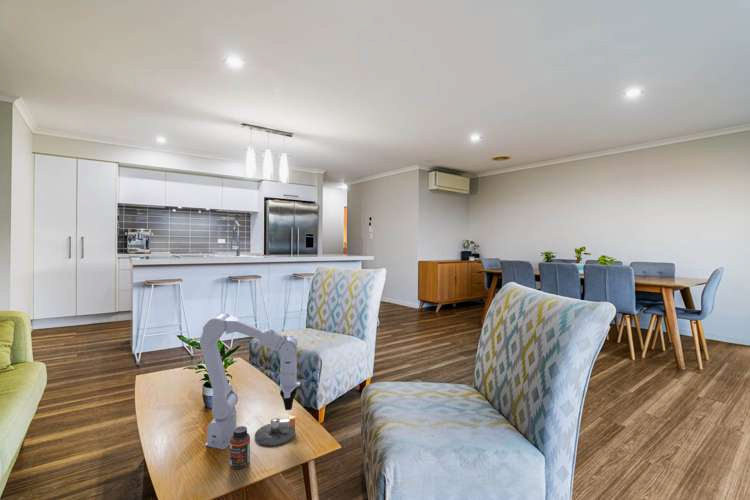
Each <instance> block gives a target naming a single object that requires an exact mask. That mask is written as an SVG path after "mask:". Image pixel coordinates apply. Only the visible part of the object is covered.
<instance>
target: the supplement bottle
mask: <svg viewBox="0 0 750 500" xmlns="http://www.w3.org/2000/svg"><path fill="white" fill-rule="evenodd" d="M250 461H251V435H250V433H248V427H247V426H244V425H239V426H236V428H235V429H234V431H233V436H232V437H231V439H230V445H229V466H230V468H231V469H233V470H241V469H245V468H246V467H247V466H249V464H250V463H251V462H250Z"/></svg>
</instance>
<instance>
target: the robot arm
mask: <svg viewBox="0 0 750 500" xmlns="http://www.w3.org/2000/svg"><path fill="white" fill-rule="evenodd" d="M275 330H276V329H274V328H270V329H269V328H267V329H264V330H263V329H260V328H258V327H256V326H254V325H252V324H250V323H248V322H246V321H244V320H242V319H240V318H238V317H237V316H235V315H229V314H228V313H224V312H221V313H218V314H217V315H216V316H214V317H213V318H210V319H209V320H208V321H207V322H206V323H205V325H203V327H202V333H201V335H200V340H199V347H200V350H201V355H202V357H203V360H204V365H205V368H206V372H207V375H208V378H209V382H210V386H211V389H212V399H211V402H212V409H211V414H212V416H213V418H212V421H211V422H209V423H208V425H207V427H206V428H207V429H206V442H205V444H204V445H205V447H206V446H207V447H210V448H214V449H220V450H226V449H227V448H228V447H230V439H231V437H232V436H233V431H234V429H235V428H237V410H236V409H237V408H236V407H235V406H236V405H237V404H238V401H239V397H238V394H237V393H236V392H235V391H234V389H233V387H232V385H230V383H229V381H228V377H227V374H226V370H225V366H224V363H223V361H222V360H223V359H222V357H221V352H220V349H219V345H218V342H219V340H220V339H221V337H222V335H223V334H224V333H225V334H226V335H228V334H232V333H240V334H242V335H244V336H248V337H250V338H253V339H257V340H258V342H259V344H260V345H261V346H263V347H265V348H266V347H267V348H268V349H271V350H274V351H276V352H279V354H280V362H279V363H280V368H279V369H280V371H279V372H280V373H279V376H280V380H279V381H280V382H279V383H280V384H279V388H280V391H279V394H280V396H281V399H282V401H283V405H284V410H285V411H290V410H291V411H292V408H293V403H294V398H295V397H296V394H297V390H298V389H297V388H298V387H300V385H301V382H299V381H298V380H297V379H298V378H297V377H298V373H297V372H298V364H297V363H298V358H297V348H298V341H297V339H296V338H295V337H293V336H292V335H287V334H281V333H279V332H277V331H275Z"/></svg>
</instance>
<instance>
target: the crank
mask: <svg viewBox="0 0 750 500" xmlns="http://www.w3.org/2000/svg"><path fill="white" fill-rule="evenodd" d="M270 424H271V433H272V434H277V433H279V432H280V429H285V428H295V429H296V415H289V419H288V418H287V419H286V418H285V419H281V418H279V417H274V418H271V420H270Z"/></svg>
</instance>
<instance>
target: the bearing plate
mask: <svg viewBox="0 0 750 500" xmlns="http://www.w3.org/2000/svg"><path fill="white" fill-rule="evenodd" d="M295 435H296V427H295V428H285V429H280V432H279V433H277V434H272V433H271V423H268V424H265V425H262V426H261V427H260V428H258V429H257V430H256V431H255V433H254V440H255V443H257V444H258V445H260V446H263V447H276V446H277V447H278V446H281V445H284V444H287V443H288V442H290V441H291V440H293V438H294V437H295Z"/></svg>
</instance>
